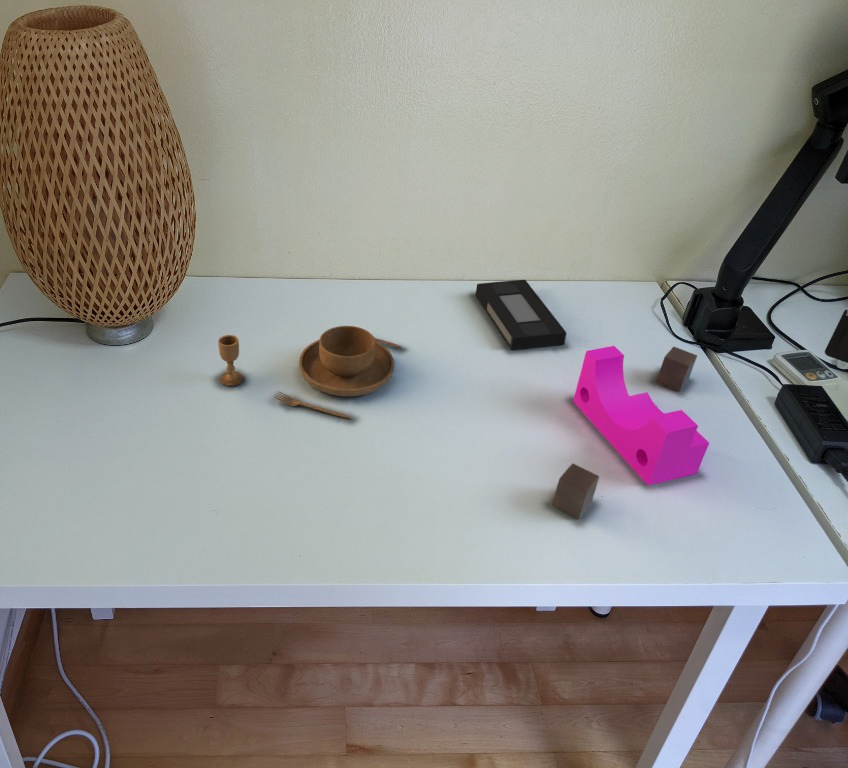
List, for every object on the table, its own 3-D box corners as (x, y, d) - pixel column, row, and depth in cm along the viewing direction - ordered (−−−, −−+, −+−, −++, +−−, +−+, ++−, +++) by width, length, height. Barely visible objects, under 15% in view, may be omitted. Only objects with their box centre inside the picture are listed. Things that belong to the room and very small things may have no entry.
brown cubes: (688, 381, 98) (697, 355, 95) (578, 520, 79) (586, 492, 76) (664, 371, 99) (673, 346, 97) (551, 505, 80) (559, 478, 78)
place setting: (366, 426, 90) (368, 386, 86) (213, 385, 95) (209, 346, 92) (411, 347, 103) (415, 309, 99) (275, 315, 108) (273, 278, 105)
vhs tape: (511, 350, 102) (513, 338, 101) (474, 295, 114) (476, 283, 112) (563, 345, 104) (566, 332, 102) (522, 291, 115) (525, 279, 114)
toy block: (696, 473, 84) (718, 421, 80) (648, 485, 83) (667, 432, 78) (617, 392, 96) (632, 342, 91) (573, 401, 94) (586, 350, 90)
